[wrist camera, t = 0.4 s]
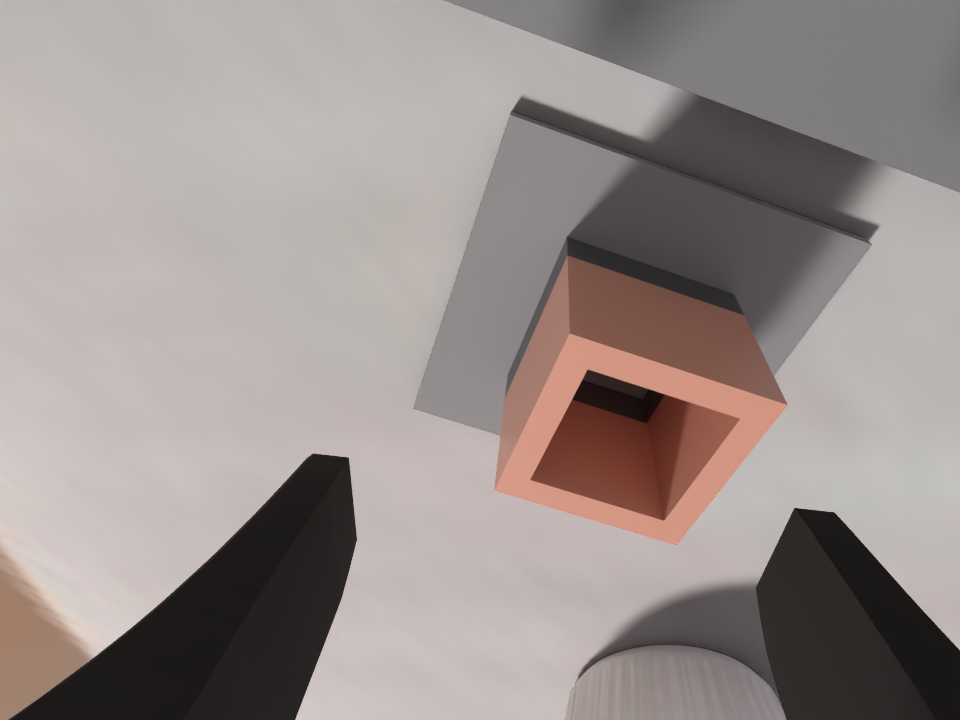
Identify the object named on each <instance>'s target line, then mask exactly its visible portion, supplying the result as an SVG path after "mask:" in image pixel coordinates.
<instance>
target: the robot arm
mask: <svg viewBox="0 0 960 720" xmlns="http://www.w3.org/2000/svg"><path fill="white" fill-rule="evenodd" d="M356 541H357V536H356V526H355V516H354V506H353V496H352V486H351V476H350V466H349V458H347V457H338V456H329V455H321V454H312V455H311V456H309V457H308V458H307V459H306V460H305V461H304V462H303V463H302V464H301V465H300V466H299V467H298V468H297V470H296V471H295V472H294V473H293V474H292V475H291V476H290V477H289V478H288V479H287V481H286V482H285V483H284V484H283V485H282V486H281V487H280V488H279V489H278V490H277V491H276V492H275V493H274V494H273V496H272V497H271V498H270V499H269V500H268V501H267V502H266V503H265V504H264V505H263V506H262V507H261V508H260V509H259V510H258V511H257V512H256V513H255V514H254V515H253V516H252V517H251V518H250V519H249V520H248V521H247V522H246V523H245V524H244V525H243V526H242V527H241V528H240V529H239V530H238V531H237V532H236V533H235V534H234V535H233V536H232V537H231V538H230V539H229V540H228V541H227V542H226V543H225V544H224V545H223V546H222V547H221V548H220V549H219V550H218V551H217V552H216V553H215V554H214V555H213V556H212V557H211V558H210V559H209V560H208V561H207V562H206V563H205V564H203V565H202V566H201V567H200V568H199V569H198V570H197V571H196V572H195V573H194V574H192V575H191V576H190V577H189V578H188V579H187V580H186V581H185V582H184V583H183V584H181V585H180V586H179V587H178V588H177V589H176V590H175V591H174V592H173V593H172V594H170V595H169V596H168V597H167V598H166V599H165V600H164V601H163V602H162V603H160V604H159V605H158V606H157V607H156V608H155V609H153V610H152V611H151V612H150V613H149V614H147V615H146V616H145V617H144V618H143V619H142V620H140V621H139V622H138V623H137V624H136V625H134V626H133V627H132V628H131V629H129V630H128V631H127V632H126V633H125V634H123V635H122V636H121V637H120V638H118V639H117V640H116V641H114V642H113V643H112V644H111V645H109V646H108V647H107V648H106V649H104V650H103V651H102V652H101V653H99V654H98V655H97V656H96V657H94V658H93V659H92V660H90V661H89V662H88V663H86V664H85V665H84V666H83V667H81V668H80V669H78V670H77V671H76V672H74V673H73V674H71V675H70V676H69V677H67V678H66V679H65V680H63V681H62V682H61V683H59V684H58V685H57V686H55V687H54V688H53V689H51V690H50V691H49V692H47V693H46V694H44V695H43V696H42V697H40V698H39V699H38V700H36V701H35V702H33V703H32V704H31V705H29V706H28V707H26V708H25V709H23V710H22V711H21V712H19V713H18V714H16V715H15V716H13V717H12V718H10V719H9V720H295V718H296V716H297V713H298V710H299V708H300V705H301V703H302V700H303V698H304V695H305V692H306V690H307V687H308V685H309V682H310V679H311V677H312V674H313V672H314V669H315V666H316V664H317V661H318V659H319V656H320V654H321V651H322V648H323V646H324V643H325V641H326V638H327V635H328V633H329V630H330V627H331V625H332V622H333V620H334V617H335V614H336V612H337V609H338V606H339V604H340V601H341V598H342V595H343V591H344V587H345V584H346V580H347V576H348V573H349V569H350V565H351V561H352V557H353V553H354V549H355V545H356ZM756 591H757V598H758V604H759V611H760V618H761V624H762V629H763V635H764V640H765V646H766V651H767V655H768V659H769V662H770V666H771V669H772V673H773V676H774V680H775V683H776V686H777V690H778V693H779V697H780V700H781V703H782V707H783V710H784V713H785V717H786V720H960V650H959V649H958V648H957V647H956V646H955V645H954V644H953V643H952V642H951V641H950V639H949V638H948V637H947V636H946V635H945V634H944V633H943V632H942V631H941V630H940V629H939V628H938V627H937V626H936V624H935V623H934V622H933V621H932V620H931V619H930V618H929V617H928V616H927V615H926V614H925V613H924V611H923V610H922V609H921V608H920V607H919V606H918V605H917V604H916V603H915V602H914V600H913V599H912V598H911V597H910V596H909V595H908V594H907V593H906V592H905V590H904V589H903V588H902V587H901V586H900V585H899V584H898V583H897V582H896V580H895V579H894V578H893V577H892V576H891V575H890V574H889V573H888V571H887V570H886V569H885V568H884V567H883V566H882V565H881V564H880V563H879V561H878V560H877V559H876V558H875V557H874V556H873V555H872V553H871V552H870V551H869V550H868V549H867V548H866V547H865V546H864V544H863V543H862V542H861V541H860V540H859V539H858V538H857V537H856V536H855V534H854V533H853V532H852V531H851V530H850V529H849V528H848V527H847V526H846V524H845V523H844V522H843V521H842V520H841V519H840V518H839V517H838V516H837V515H836V514H835V513H834V512H825V511H816V510H807V509H799V508H794V510H793V512H792V514H791V516H790V519H789V521H788V523H787V525H786V527H785V529H784V531H783V533H782V535H781V537H780V539H779V541H778V543H777V545H776V548H775V550H774V552H773V554H772V556H771V558H770V560H769V562H768V564H767V566H766V568H765V570H764V572H763V574H762V577H761V579H760V581H759V583H758V585H757V587H756Z"/></svg>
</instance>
